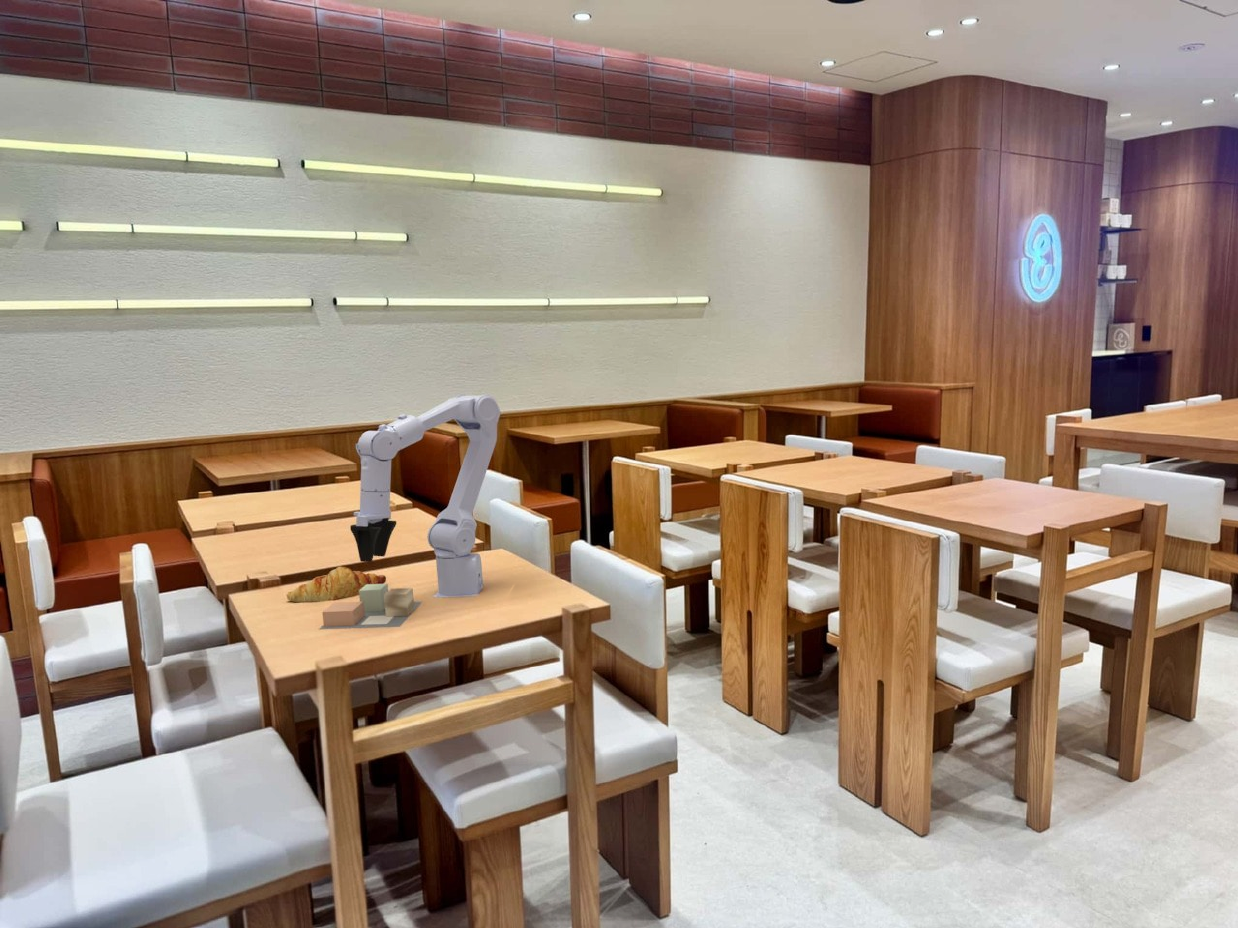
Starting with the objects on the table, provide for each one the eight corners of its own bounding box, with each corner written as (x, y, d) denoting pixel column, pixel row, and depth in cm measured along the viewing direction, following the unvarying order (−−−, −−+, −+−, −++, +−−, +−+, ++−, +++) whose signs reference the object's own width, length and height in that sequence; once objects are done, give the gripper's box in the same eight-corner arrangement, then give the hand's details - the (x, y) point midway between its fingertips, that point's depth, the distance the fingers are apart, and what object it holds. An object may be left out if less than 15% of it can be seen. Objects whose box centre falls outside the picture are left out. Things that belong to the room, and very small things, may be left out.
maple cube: (414, 609, 172) (412, 587, 171) (408, 615, 167) (406, 594, 167) (392, 609, 172) (391, 588, 171) (385, 616, 167) (383, 594, 167)
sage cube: (389, 604, 176) (387, 583, 175) (382, 611, 172) (380, 589, 171) (368, 605, 176) (366, 584, 176) (360, 611, 172) (358, 590, 171)
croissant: (290, 623, 180) (288, 596, 175) (284, 592, 187) (281, 565, 182) (390, 603, 189) (390, 577, 184) (380, 575, 196) (380, 548, 192)
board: (422, 603, 177) (422, 601, 177) (400, 629, 161) (399, 626, 161) (348, 606, 178) (348, 603, 178) (318, 631, 162) (318, 629, 162)
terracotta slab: (364, 615, 169) (363, 601, 168) (354, 625, 163) (352, 610, 163) (335, 616, 169) (334, 602, 169) (323, 626, 163) (322, 611, 163)
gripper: (368, 487, 174) (366, 552, 175) (341, 492, 160) (339, 563, 160) (401, 489, 174) (399, 554, 175) (378, 494, 160) (375, 564, 160)
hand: (372, 558), depth 167 cm, fingers open, 7 cm apart
